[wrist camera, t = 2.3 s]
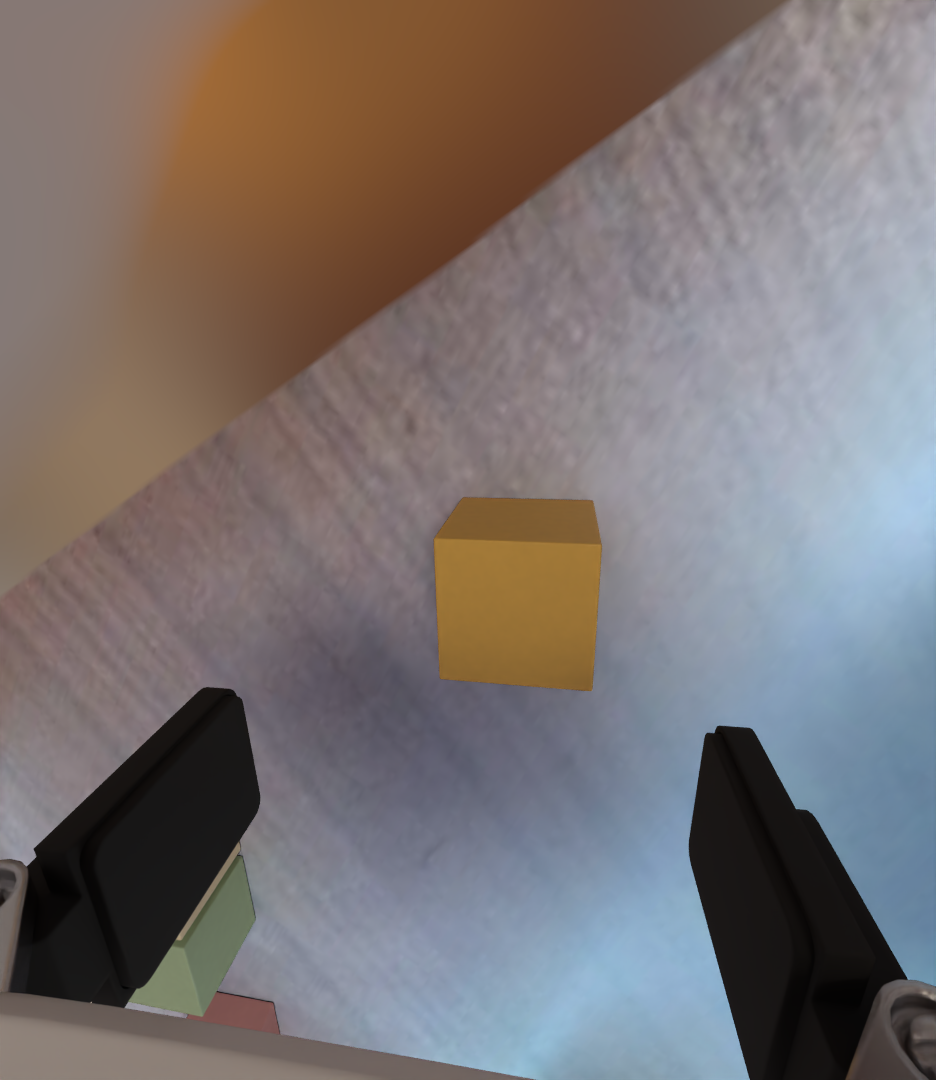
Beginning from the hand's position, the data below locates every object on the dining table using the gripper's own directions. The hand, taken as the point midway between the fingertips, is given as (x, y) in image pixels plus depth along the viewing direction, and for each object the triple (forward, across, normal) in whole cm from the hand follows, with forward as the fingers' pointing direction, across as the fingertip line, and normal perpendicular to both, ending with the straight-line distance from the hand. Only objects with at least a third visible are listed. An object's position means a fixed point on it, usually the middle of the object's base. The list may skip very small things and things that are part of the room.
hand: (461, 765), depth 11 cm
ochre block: (+11, -1, 0) cm, 11 cm away
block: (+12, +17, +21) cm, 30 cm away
